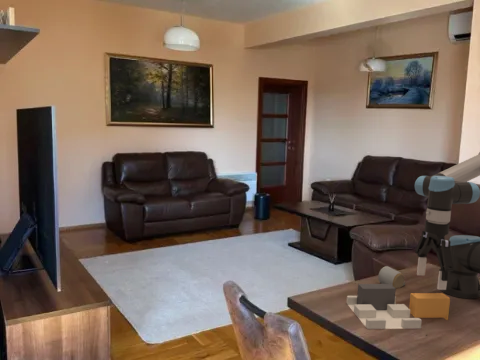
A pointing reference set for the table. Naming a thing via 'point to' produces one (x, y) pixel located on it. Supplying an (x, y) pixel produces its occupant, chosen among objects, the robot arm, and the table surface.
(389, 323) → the rack
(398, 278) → the ceramic mug
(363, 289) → the dark gray brick
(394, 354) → the table surface
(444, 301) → the tall orange brick
